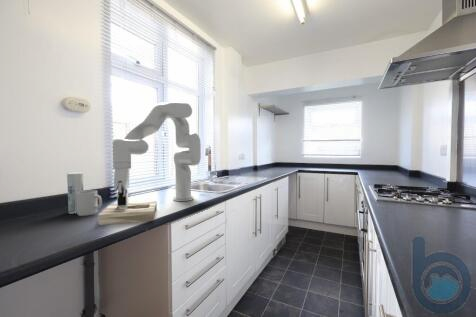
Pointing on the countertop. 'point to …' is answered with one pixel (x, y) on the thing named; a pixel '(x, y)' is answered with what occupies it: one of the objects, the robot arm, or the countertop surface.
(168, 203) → the countertop surface
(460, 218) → the countertop surface
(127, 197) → the peg
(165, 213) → the countertop surface
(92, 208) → the mug
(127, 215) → the keyhole plate
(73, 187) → the tall grey container
